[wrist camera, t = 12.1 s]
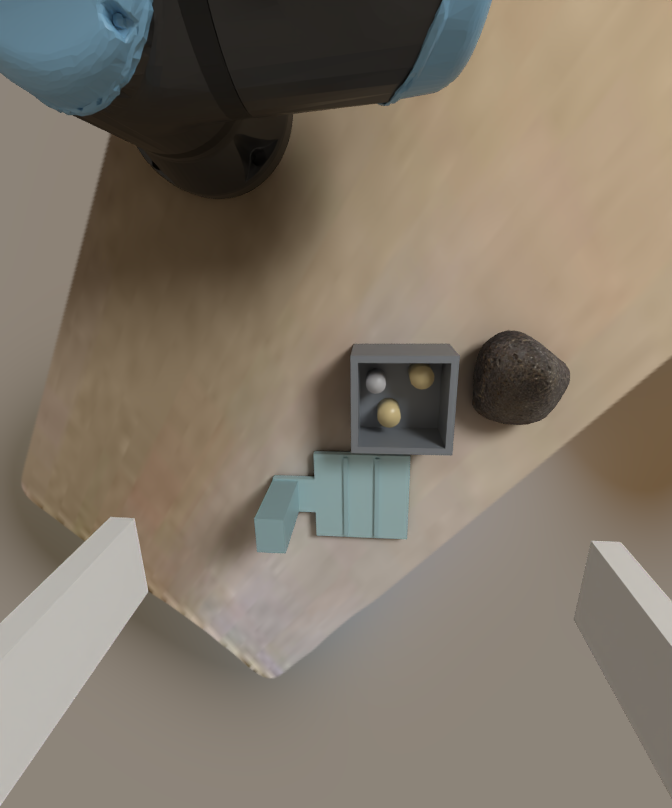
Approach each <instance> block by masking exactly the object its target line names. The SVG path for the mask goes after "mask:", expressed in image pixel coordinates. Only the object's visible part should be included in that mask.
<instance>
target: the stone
mask: <svg viewBox="0 0 672 808" xmlns="http://www.w3.org/2000/svg"><path fill="white" fill-rule="evenodd" d="M569 381H570V371H569V369H568V367H567V366H566V364H565V363H564V362H563V361H561V360H560V359H559V358H557V357H556V356H555V355H554V354H553V353H551V352H550V351H549V350H548V349H547V348H545V347H544V346H543V345H542V344H541V343H539V342H538V341H536V340H535V339H533V338H531V337H530V336H528V335H526V334H524V333H522V332H518V331H504V332H501V333H498V334H497V335H495V336H494V337H492V338H490V339H489V340H488V341H487V342H486V343H485V344H484V345H483V347H482V349H481V350H480V352H479V354H478V357H477V362H476V366H475V371H474V392H473V406H474V408H475V410H476V411H477V412H478V413H479V414H481V415H482V416H484V417H486V418H488V419H490V420H493V421H496V422H500V423H503V424H514V425H523V424H530V423H534V422H537V421H540V420H542V419H544V418H545V417H546V416H547V415H548V414H549V413H550V412H551V411H552V410H553V409H554V408H555V406H556V405H557V403H558V402H559V401H560V399H561V397H562V395H563V394H564V393H565V391H566V389H567V387H568V385H569Z"/></svg>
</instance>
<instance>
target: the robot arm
mask: <svg viewBox="0 0 672 808" xmlns="http://www.w3.org/2000/svg"><path fill="white" fill-rule="evenodd" d="M491 2H492V0H0V73H2V74H3V75H4V76H5V77H6V78H8V79H9V80H10V81H12V82H13V83H15V84H16V85H18V86H19V87H21V88H23V89H24V90H26V91H27V92H29V93H30V94H32V95H34V96H35V97H36V98H37V99H39V100H40V101H41V102H42V103H44V104H45V105H47V106H48V107H50V108H53V109H55V110H57V111H58V112H60V113H61V112H64V113H65V114H67V115H73V116H75V117H77V118H79V119H81V120H83V121H86V122H88V123H90V124H92V125H94V126H96V127H98V128H100V129H102V130H105V131H107V132H109V133H111V134H113V135H115V136H117V137H119V138H121V139H124V140H126V141H128V142H130V143H132V144H134V145H136V146H137V148H138V149H139V151H140V152H141V154H142V155H143V157H144V158H145V159H146V161H147V162H148V163H149V164H150V165H151V166H152V168H153V169H154V170H155V171H156V172H157V173H158V174H160V175H161V176H162V177H163V178H164V179H166V180H167V181H169V182H170V183H172V184H173V185H175V186H177V187H178V188H180V189H183V190H185V191H187V192H190V193H193V194H195V195H198V196H202V197H206V198H213V199H225V198H232V197H236V196H239V195H242V194H245V193H247V192H249V191H251V190H253V189H254V188H256V187H257V186H259V185H260V184H261V183H262V182H263V181H264V180H266V179H267V178H268V177H269V175H270V174H271V173H272V172H273V171H274V169H275V168H276V166H277V165H278V163H279V162H280V160H281V158H282V156H283V154H284V152H285V149H286V147H287V144H288V141H289V137H290V133H291V128H292V120H293V114H295V113H303V112H311V111H320V110H328V109H336V108H344V107H352V106H361V105H369V104H379V105H381V106H388V105H390V104H391V103H396V102H397V101H398V100H400V99H404V98H409V97H415V96H420V95H426V94H431V93H435V92H438V91H439V90H441V89H443V88H444V87H446V86H448V85H449V84H450V83H451V82H453V81H454V80H455V79H456V78H457V77H458V76H459V74H460V73H461V72H462V70H463V69H464V67H465V66H466V64H467V62H468V61H469V59H470V57H471V55H472V53H473V51H474V49H475V47H476V44H477V42H478V40H479V37H480V35H481V32H482V29H483V26H484V24H485V21H486V18H487V15H488V12H489V8H490V5H491ZM147 593H148V587H147V582H146V577H145V571H144V566H143V561H142V555H141V550H140V545H139V540H138V534H137V529H136V524H135V518H118V517H110V518H109V519H108V520H107V521H106V522H105V523H104V524H103V525H102V526H101V527H100V528H99V529H98V530H97V531H96V532H94V533H93V534H92V535H91V536H90V537H89V538H88V539H87V540H86V541H85V542H84V543H83V544H82V545H81V546H80V547H79V548H78V549H77V550H76V551H75V552H74V553H73V554H72V555H71V556H70V557H68V559H66V560H65V561H64V562H63V563H62V564H61V565H60V566H59V567H58V568H57V569H56V570H55V571H54V572H53V573H52V574H51V575H50V576H49V577H48V578H47V579H46V580H45V581H44V582H43V583H41V584H40V585H39V587H37V588H36V589H35V590H34V591H33V592H32V593H31V594H30V595H29V596H28V597H27V598H26V599H25V600H24V601H23V602H22V603H21V604H20V605H19V606H18V607H17V608H15V609H14V610H13V611H12V612H11V613H10V614H9V615H8V616H7V617H6V618H5V619H4V620H3V621H2V622H1V623H0V806H1V804H2V802H3V801H4V800H5V798H6V797H7V795H8V794H9V792H10V791H11V790H12V788H13V787H14V785H15V784H16V782H17V781H18V779H19V778H20V776H21V775H22V774H23V772H24V771H25V769H26V768H27V766H28V765H29V763H30V762H31V761H32V759H33V758H34V756H35V755H36V753H37V752H38V750H39V749H40V748H41V746H42V745H43V743H44V742H45V740H46V739H47V737H48V736H49V735H50V733H51V731H52V730H53V729H54V727H55V726H56V724H57V723H58V721H59V720H60V719H61V717H62V716H63V714H64V713H65V711H66V710H67V709H68V707H69V706H70V704H71V703H72V701H73V700H74V698H75V697H76V696H77V694H78V693H79V691H80V690H81V688H82V687H83V685H84V684H85V683H86V681H87V680H88V678H89V677H90V675H91V674H92V672H93V671H94V670H95V668H96V667H97V665H98V664H99V662H100V661H101V659H102V658H103V657H104V655H105V654H106V652H107V651H108V649H109V648H110V646H111V645H112V643H113V642H114V641H115V639H116V638H117V636H118V635H119V633H120V632H121V630H122V629H123V628H124V626H125V625H126V623H127V622H128V620H129V619H130V617H131V616H132V615H133V613H134V612H135V610H136V609H137V607H138V606H139V604H140V603H141V602H142V600H143V599H144V597H145V596H146V594H147ZM574 621H575V623H576V625H577V627H578V628H579V630H580V632H581V634H582V635H583V637H584V639H585V641H586V643H587V645H588V647H589V648H590V650H591V652H592V654H593V655H594V657H595V659H596V661H597V663H598V665H599V666H600V669H601V670H602V672H603V674H604V676H605V678H606V679H607V681H608V683H609V685H610V687H611V688H612V691H613V692H614V694H615V696H616V698H617V700H618V701H619V703H620V705H621V707H622V709H623V711H624V712H625V714H626V716H627V718H628V720H629V722H630V723H631V725H632V727H633V729H634V731H635V732H636V734H637V736H638V738H639V740H640V742H641V743H642V745H643V747H644V749H645V750H646V753H647V755H648V756H649V758H650V760H651V762H652V764H653V765H654V767H655V769H656V771H657V773H658V775H659V776H660V778H661V780H662V782H663V784H664V786H665V787H666V789H667V791H668V793H669V795H670V797H671V798H672V601H671V600H670V599H669V597H668V596H667V595H666V594H665V593H664V592H663V591H662V589H660V587H659V586H658V585H657V584H656V583H655V581H654V580H653V579H652V578H651V577H650V576H649V574H648V573H647V572H646V571H645V570H644V569H643V568H642V566H641V565H640V564H639V563H638V562H637V561H636V559H635V558H634V557H633V556H632V555H631V554H630V552H629V551H628V550H627V549H626V548H625V547H624V546H623V544H622V543H621V542H606V541H591V544H590V549H589V553H588V557H587V562H586V566H585V571H584V575H583V580H582V584H581V589H580V593H579V598H578V602H577V607H576V611H575V616H574Z"/></svg>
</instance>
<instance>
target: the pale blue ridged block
mask: <svg viewBox="0 0 672 808" xmlns="http://www.w3.org/2000/svg"><path fill="white" fill-rule="evenodd" d="M409 480H410V454H371V453H351V452H330V451H314V476H283V475H274V477H273V481H272V483H271V485H270V487H269V489H268V491H267V493H266V495H265V497H264V499H263V501H262V503H261V506H260V508H259V510H258V512H257V514H256V516H255V518H254V523H255V534H256V544H257V552H267V553H286V551H287V548H288V544H289V541H290V538H291V535H292V532H293V529H294V525H295V522H296V519H297V516H298V513H299V512H316V532H317V535H318V536H342V537H365V538H389V539H407V528H408V504H409Z"/></svg>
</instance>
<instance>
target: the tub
mask: <svg viewBox="0 0 672 808" xmlns="http://www.w3.org/2000/svg"><path fill="white" fill-rule="evenodd" d="M459 360H460V355H459V354H458V353H457V352H456V351H455V350H454V349H453V348H452V346H451V345H450V344H354V345H353V349H352V352H351V355H350V362H351V453H371V454H414V455H452V451H453V438H454V425H455V412H456V399H457V386H458V373H459Z"/></svg>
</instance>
